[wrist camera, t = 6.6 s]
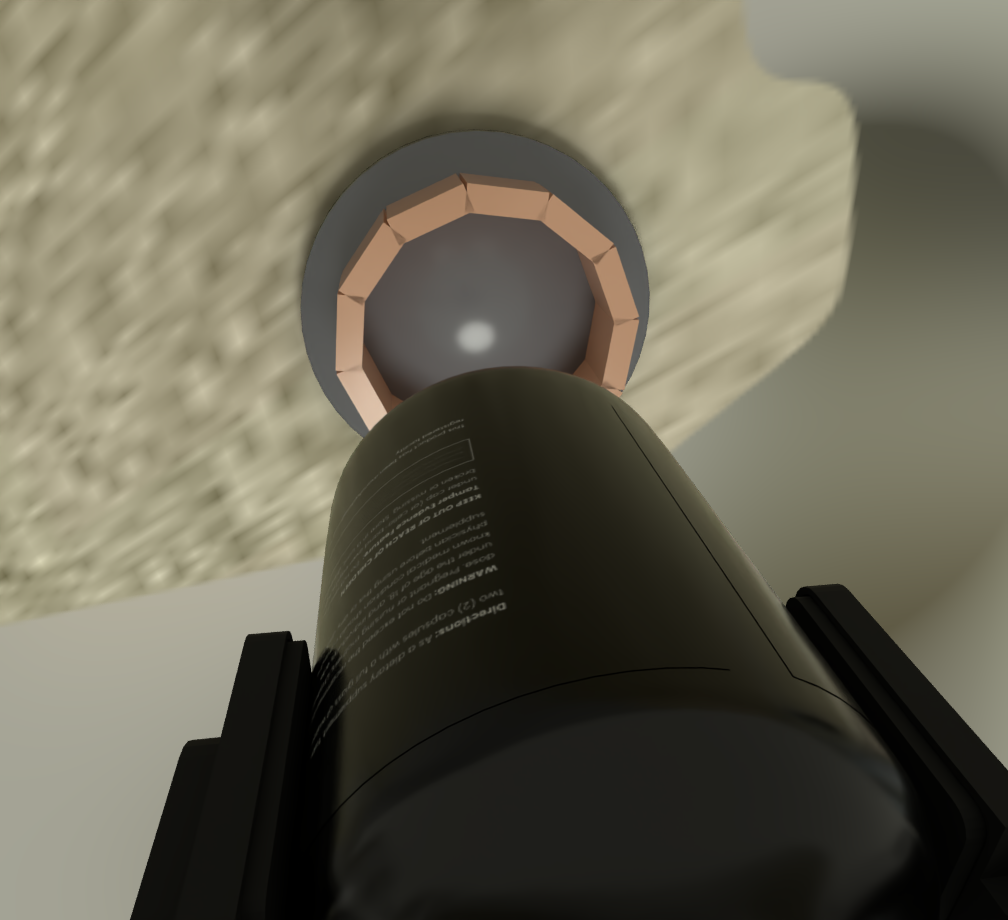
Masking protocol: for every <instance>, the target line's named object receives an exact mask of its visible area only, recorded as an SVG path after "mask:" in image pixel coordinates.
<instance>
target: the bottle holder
mask: <svg viewBox="0 0 1008 920" xmlns="http://www.w3.org/2000/svg"><path fill="white" fill-rule="evenodd" d="M649 296H650V292H649V282H648V272H647V267H646V263H645V259H644V255H643V251H642V247H641V245H640V242H639V240H638V237H637V235H636V232H635V229H634V227H633V225H632V224H631V222H630V220H629V218H628V216H627V215H626V213H625V211H624V209H623V208H622V206H621V205H620V204H619V202H618V201H617V200H616V198H615V197H614V196H613V194H612V193H611V192H610V190H609V189H608V188H607V187H606V186H605V185H604V184H603V183H602V182H601V181H600V180H599V179H598V178H597V177H596V176H595V175H594V174H593V173H592V172H590V171H589V170H588V169H586V168H585V167H583V166H582V165H581V164H579V163H578V162H577V161H575V160H574V159H573V158H571V157H569V156H567V155H565V154H563V153H562V152H560V151H558V150H556V149H554V148H552V147H550V146H548V145H546V144H543V143H541V142H538V141H535V140H532V139H530V138H527V137H524V136H521V135H516V134H511V133H506V132H501V131H491V130H462V131H450V132H445V133H441V134H437V135H433V136H428V137H424V138H422V139H419V140H417V141H414V142H412V143H409V144H407V145H404V146H402V147H400V148H398V149H396V150H395V151H393V152H391V153H389V154H387V155H386V156H384V157H382V158H380V159H379V160H378V161H376V162H375V163H374V164H373V165H371V166H370V167H369V168H367V169H366V170H365V171H364V172H362V173H361V174H360V175H359V176H358V177H357V178H356V179H355V180H354V181H353V182H352V183H351V184H350V185H349V186H348V187H347V188H346V189H345V190H344V191H343V193H342V194H341V196H340V197H339V198H338V200H337V201H336V202H335V204H334V205H333V206H332V208H331V209H330V211H329V212H328V214H327V216H326V218H325V220H324V222H323V224H322V226H321V227H320V229H319V231H318V233H317V236H316V238H315V241H314V244H313V247H312V249H311V252H310V255H309V258H308V260H307V265H306V269H305V274H304V279H303V283H302V296H301V320H302V332H303V337H304V342H305V347H306V351H307V355H308V358H309V360H310V363H311V366H312V369H313V372H314V374H315V376H316V378H317V380H318V382H319V384H320V386H321V388H322V390H323V392H324V394H325V395H326V397H327V398H328V400H329V401H330V402H331V404H332V405H333V407H334V408H335V410H336V411H337V412H338V413H339V414H340V416H341V417H342V418H343V419H344V420H345V421H346V422H347V423H348V424H349V426H350V427H351V428H353V429H354V430H355V431H356V432H357V433H358V434H360V435H361V436H362V437H363V438H364V437H365V436H366V435H367V433H368V432H369V431H370V430H371V429H372V428H373V426H374V425H375V424H377V423H378V422H379V421H380V420H381V419H382V418H383V417H384V416H385V415H386V414H387V413H388V412H389V411H391V410H392V409H393V408H395V407H396V406H397V405H398V404H400V403H401V402H402V401H404V400H406V399H407V398H409V397H410V396H412V395H413V394H415V393H417V392H418V391H420V390H422V389H424V388H426V387H428V386H430V385H432V384H434V383H437V382H439V381H442V380H444V379H446V378H449V377H452V376H455V375H459V374H462V373H465V372H469V371H474V370H479V369H484V368H492V367H500V366H531V367H541V368H547V369H553V370H558V371H562V372H565V373H569V374H573V375H576V376H578V377H581V378H584V379H586V380H589V381H591V382H593V383H595V384H597V385H599V386H601V387H603V388H605V389H607V390H608V391H610V392H611V393H613V394H614V395H616V396H618V397H620V396H621V395H622V391H623V390H624V389H625V386H626V384H627V383H628V381H629V379H630V377H631V376H632V373H633V371H634V369H635V366H636V364H637V362H638V359H639V357H640V354H641V350H642V347H643V343H644V340H645V336H646V330H647V324H648V318H649Z"/></svg>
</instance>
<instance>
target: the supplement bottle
mask: <svg viewBox="0 0 1008 920" xmlns="http://www.w3.org/2000/svg"><path fill="white" fill-rule="evenodd" d="M287 902H288V905H286V910H287V915H286V920H939V916H940V903H941V887H940V877H939V867H938V858H937V851H936V846H935V840H934V837H933V833H932V829H931V826H930V822H929V819H928V816H927V812H926V809H925V807H924V805H923V802H922V800H921V798H920V796H919V794H918V792H917V790H916V788H915V786H914V784H913V782H912V781H911V779H910V777H909V776H908V774H907V773H906V771H905V770H904V768H903V767H902V765H901V763H900V762H899V761H898V759H897V758H896V756H895V755H894V754H893V752H892V751H891V750H890V748H889V747H888V745H887V743H886V741H885V740H884V738H883V737H882V736H881V734H880V733H879V732H878V730H877V729H876V727H875V726H874V725H873V723H872V722H871V721H870V719H869V718H868V717H867V715H866V714H865V713H864V711H863V710H862V709H861V707H860V706H859V705H858V703H857V702H856V701H855V699H854V698H853V697H852V695H851V694H850V693H849V691H848V690H847V688H846V687H845V686H844V684H843V683H842V682H841V680H840V679H839V678H838V676H837V675H836V674H835V672H834V671H833V670H832V668H831V667H830V666H829V664H828V663H827V662H826V660H825V659H824V658H823V656H822V655H821V654H820V652H819V651H818V650H817V648H816V647H815V646H814V644H813V643H812V642H811V640H810V639H809V638H808V636H807V635H806V634H805V632H804V631H803V630H802V628H801V627H800V626H799V624H798V623H797V622H796V620H795V619H794V618H793V616H792V615H791V613H790V612H789V611H788V609H787V608H786V607H785V606H784V604H783V603H782V602H781V600H780V599H779V597H778V596H777V595H776V593H775V592H774V591H773V589H772V588H771V587H770V585H769V584H768V583H767V581H766V580H765V579H764V577H763V576H762V575H761V573H760V572H759V571H758V570H757V568H756V567H755V565H754V564H753V563H752V562H751V560H750V559H749V557H748V556H747V555H746V553H745V552H744V551H743V549H742V548H741V547H740V546H739V544H738V543H737V541H736V540H735V539H734V537H733V536H732V535H731V533H730V532H729V530H728V529H727V528H726V526H725V525H724V524H723V522H722V521H721V520H720V518H719V517H718V516H717V514H716V513H715V512H714V510H713V509H712V508H711V506H710V505H709V504H708V503H707V501H706V500H705V498H704V497H703V496H702V494H701V493H700V492H699V490H698V489H697V488H696V486H695V485H694V484H693V482H692V481H691V480H690V479H689V477H688V476H687V474H686V473H685V472H684V470H683V469H682V468H681V466H680V465H679V464H678V462H677V461H676V460H675V458H674V457H673V456H672V454H671V453H670V452H669V450H668V449H667V448H666V446H665V445H664V444H663V442H662V441H661V440H660V439H659V438H658V436H657V435H656V434H655V433H654V431H653V430H652V429H651V428H650V426H649V425H648V424H647V423H646V422H645V421H644V420H643V419H642V418H641V417H640V415H639V414H638V413H637V412H636V411H635V410H633V409H632V408H631V407H630V406H629V405H628V404H626V403H625V402H624V401H623V400H622V399H620V398H619V397H618V396H616V395H614V394H613V393H611V392H610V391H608V390H607V389H605V388H603V387H601V386H599V385H597V384H595V383H593V382H591V381H589V380H586V379H584V378H581V377H578V376H576V375H573V374H569V373H565V372H562V371H558V370H553V369H547V368H541V367H531V366H500V367H492V368H484V369H479V370H474V371H469V372H465V373H462V374H459V375H455V376H452V377H449V378H446V379H444V380H442V381H439V382H437V383H434V384H432V385H430V386H428V387H426V388H424V389H422V390H420V391H418V392H417V393H415V394H413V395H412V396H410V397H409V398H407V399H406V400H404V401H402V402H401V403H400V404H398V405H397V406H396V407H395V408H393V409H392V410H391V411H389V412H388V413H387V414H386V415H385V416H384V417H383V418H382V419H381V420H380V421H379V422H378V423H377V424H375V425H374V426H373V428H372V429H371V430H370V431H369V432H368V433H367V435H366V436H365V437H364V438H363V439H362V441H361V442H360V443H359V445H358V446H357V448H356V449H355V451H354V452H353V454H352V455H351V457H350V459H349V461H348V462H347V464H346V466H345V468H344V470H343V472H342V475H341V477H340V480H339V482H338V485H337V489H336V492H335V496H334V500H333V503H332V507H331V514H330V521H329V528H328V534H327V541H326V548H325V557H324V566H323V575H322V584H321V594H320V602H319V611H318V620H317V629H316V638H315V648H314V657H313V666H312V677H311V686H310V695H309V704H308V713H307V722H306V731H305V740H304V749H303V758H302V767H301V776H300V785H299V794H298V803H297V812H296V821H295V830H294V839H293V848H292V858H291V867H290V876H289V885H288V895H287Z"/></svg>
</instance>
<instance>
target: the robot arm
mask: <svg viewBox="0 0 1008 920" xmlns="http://www.w3.org/2000/svg"><path fill="white" fill-rule="evenodd" d="M786 608H787V609H788V611H789V612H790V613H791V615H792V616H793V618H794V619H795V620H796V622H797V623H798V624H799V626H800V627H801V628H802V630H803V631H804V632H805V634H806V635H807V636H808V638H809V639H810V640H811V642H812V643H813V644H814V646H815V647H816V648H817V650H818V651H819V652H820V654H821V655H822V656H823V658H824V659H825V660H826V662H827V663H828V664H829V666H830V667H831V668H832V670H833V671H834V672H835V674H836V675H837V676H838V678H839V679H840V680H841V682H842V683H843V684H844V686H845V687H846V688H847V690H848V691H849V693H850V694H851V695H852V697H853V698H854V699H855V701H856V702H857V703H858V705H859V706H860V707H861V709H862V710H863V711H864V713H865V714H866V715H867V717H868V718H869V719H870V721H871V722H872V723H873V725H874V726H875V727H876V729H877V730H878V732H879V733H880V734H881V736H882V737H883V738H884V740H885V741H886V743H887V745H888V747H889V748H890V750H891V751H892V752H893V754H894V755H895V756H896V758H897V759H898V761H899V762H900V763H901V765H902V767H903V768H904V770H905V771H906V773H907V774H908V776H909V777H910V779H911V781H912V782H913V784H914V786H915V788H916V790H917V792H918V794H919V796H920V798H921V800H922V802H923V805H924V807H925V809H926V812H927V816H928V819H929V822H930V826H931V829H932V833H933V837H934V840H935V846H936V851H937V858H938V867H939V877H940V887H941V903H940V916H939V920H1008V770H1007V769H1006V768H1005V767H1004V766H1003V764H1002V763H1001V762H1000V761H999V760H998V759H997V757H996V756H995V755H994V754H993V753H992V752H991V751H990V750H989V748H988V747H987V746H986V745H985V744H984V743H983V742H982V741H981V739H980V738H979V737H978V736H977V735H976V734H975V733H974V731H973V730H972V729H971V728H970V727H969V726H968V725H967V724H966V723H965V721H964V720H963V719H962V718H961V717H960V716H959V714H958V713H957V712H956V711H955V710H954V709H953V708H952V707H951V706H950V705H949V703H948V702H947V701H946V700H945V699H944V698H943V696H942V695H941V694H940V693H939V692H938V691H937V690H936V688H935V687H934V686H933V685H932V684H931V683H930V682H929V681H928V679H927V678H926V677H925V676H924V675H923V674H922V673H921V672H920V670H919V669H918V668H917V667H916V666H915V665H914V664H913V663H912V661H911V660H910V659H909V658H908V657H907V656H906V655H905V653H904V652H903V651H902V650H901V649H900V648H899V647H898V645H897V644H895V642H894V641H893V640H892V639H891V638H890V636H889V635H888V634H887V633H886V632H885V631H884V630H883V628H882V627H881V626H880V625H879V624H878V623H877V622H876V621H875V620H874V618H873V617H872V616H871V615H870V614H869V613H868V611H867V610H866V609H865V608H864V607H863V606H862V605H861V604H860V602H859V601H858V600H857V599H856V598H855V597H854V596H853V595H852V593H851V592H850V591H849V590H848V589H847V588H846V587H844V586H843V585H840V584H830V585H818V586H806V587H802V588H800V589H799V590H798V591H797V594H796V596H795V597H793V598H790V599H789V600H788V601H787V604H786ZM311 677H312V672H311V666H310V659H309V653H308V647H307V643H306V641H305V640H303V641H293V639H292V635H291V633H290V631H282V632H271V633H260V634H249V635H248V636H247V637H246V640H245V642H244V646H243V650H242V654H241V658H240V662H239V666H238V671H237V674H236V678H235V682H234V686H233V690H232V694H231V698H230V702H229V706H228V710H227V714H226V718H225V722H224V727H223V730H222V734H221V737H218V738H208V739H197V740H191V741H188V742H187V743H186V744H185V746H184V747H183V749H182V752H181V755H180V757H179V760H178V764H177V767H176V770H175V773H174V776H173V781H172V783H171V786H170V790H169V793H168V796H167V800H166V803H165V806H164V810H163V813H162V816H161V819H160V823H159V826H158V829H157V833H156V836H155V839H154V842H153V846H152V849H151V852H150V856H149V859H148V862H147V866H146V869H145V872H144V875H143V879H142V882H141V886H140V889H139V892H138V895H137V898H136V902H135V905H134V908H133V912H132V915H131V918H130V920H286V915H287V910H286V905H288V902H287V895H288V885H289V876H290V867H291V858H292V848H293V839H294V830H295V821H296V812H297V803H298V794H299V785H300V776H301V767H302V758H303V749H304V740H305V731H306V722H307V713H308V704H309V695H310V686H311Z"/></svg>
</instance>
